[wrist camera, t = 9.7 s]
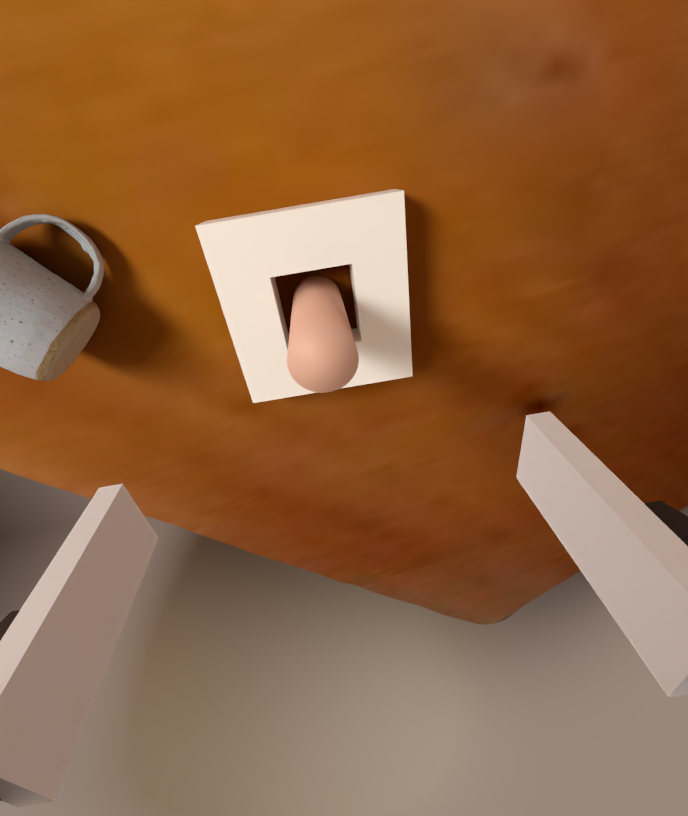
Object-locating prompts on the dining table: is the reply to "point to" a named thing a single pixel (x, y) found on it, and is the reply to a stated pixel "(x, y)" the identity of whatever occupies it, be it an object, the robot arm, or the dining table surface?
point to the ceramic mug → (43, 306)
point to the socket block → (305, 251)
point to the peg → (320, 337)
